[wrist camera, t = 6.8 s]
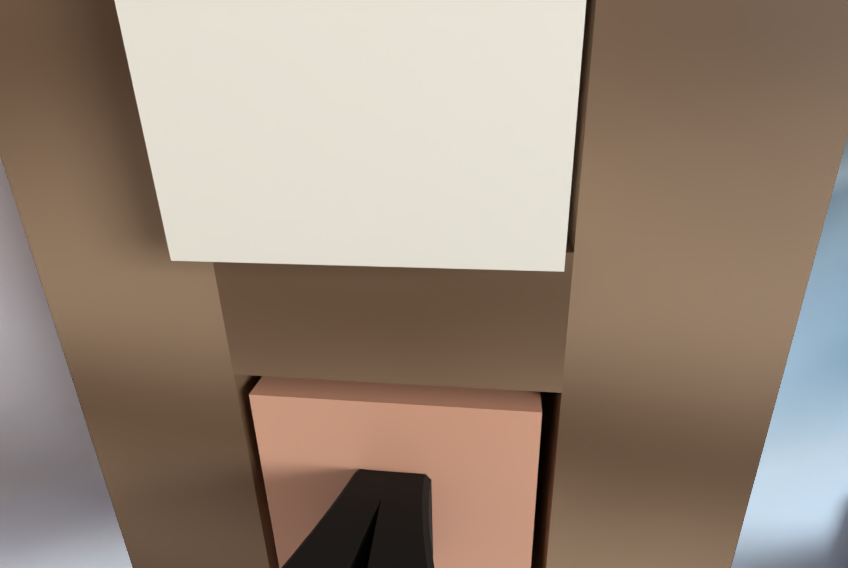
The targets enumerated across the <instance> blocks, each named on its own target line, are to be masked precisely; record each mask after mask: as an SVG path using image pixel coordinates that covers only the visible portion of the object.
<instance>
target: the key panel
mask: <svg viewBox="0 0 848 568" xmlns="http://www.w3.org/2000/svg"><path fill="white" fill-rule="evenodd" d="M847 136H848V0H586V11H585V23H584V36H583V48H582V60H581V72H580V84H579V97H578V109H577V121H576V133H575V146H574V158H573V170H572V182H571V194H570V207H569V219H568V231H567V243H566V256H565V268H564V272H557V271H521V270H486V269H450V268H414V267H378V266H342V265H306V264H270V263H235V262H199V261H171V258H170V254H169V249H168V245H167V240H166V235H165V231H164V226H163V222H162V217H161V212H160V208H159V203H158V199H157V194H156V189H155V185H154V180H153V176H152V171H151V166H150V162H149V157H148V153H147V148H146V143H145V139H144V134H143V130H142V125H141V120H140V116H139V111H138V107H137V102H136V97H135V93H134V88H133V84H132V79H131V74H130V70H129V65H128V60H127V56H126V51H125V47H124V42H123V37H122V33H121V28H120V24H119V19H118V14H117V10H116V5H115V1H114V0H0V155H1V158H2V162H3V165H4V168H5V171H6V174H7V177H8V180H9V183H10V186H11V190H12V193H13V196H14V199H15V202H16V205H17V208H18V211H19V215H20V218H21V221H22V224H23V227H24V230H25V233H26V236H27V239H28V243H29V246H30V249H31V252H32V255H33V258H34V261H35V264H36V267H37V271H38V274H39V277H40V280H41V283H42V286H43V289H44V292H45V295H46V299H47V302H48V305H49V308H50V311H51V314H52V317H53V320H54V324H55V327H56V330H57V333H58V336H59V339H60V342H61V345H62V348H63V352H64V355H65V358H66V361H67V364H68V367H69V370H70V373H71V376H72V380H73V383H74V386H75V389H76V392H77V395H78V398H79V401H80V405H81V408H82V411H83V414H84V417H85V420H86V423H87V426H88V429H89V433H90V436H91V439H92V442H93V445H94V448H95V451H96V454H97V457H98V461H99V464H100V467H101V470H102V473H103V476H104V479H105V482H106V486H107V489H108V492H109V495H110V498H111V501H112V504H113V507H114V510H115V514H116V517H117V520H118V523H119V526H120V529H121V532H122V535H123V538H124V542H125V545H126V548H127V551H128V554H129V557H130V560H131V563H132V567H133V568H279V563H278V557H277V552H276V546H275V540H274V535H273V529H272V523H271V518H270V512H269V506H268V501H267V495H266V489H265V483H264V478H263V472H262V466H261V461H260V455H259V449H258V444H257V438H256V432H255V427H254V421H253V415H252V410H251V404H250V398H249V394H250V392H251V391H252V390H253V388H254V387H255V386H256V384H257V383H258V381H259V380H260V379H261V377H262V376H272V377H290V378H308V379H325V380H343V381H361V382H379V383H397V384H414V385H432V386H450V387H468V388H485V389H503V390H521V391H539V392H540V396H541V406H542V421H541V435H540V449H539V463H538V476H537V490H536V504H535V518H534V531H533V545H532V559H531V568H731V565H732V561H733V558H734V554H735V550H736V547H737V543H738V539H739V535H740V532H741V528H742V524H743V521H744V517H745V513H746V510H747V506H748V502H749V499H750V495H751V491H752V487H753V484H754V480H755V476H756V473H757V469H758V465H759V462H760V458H761V454H762V450H763V447H764V443H765V439H766V436H767V432H768V428H769V425H770V421H771V417H772V414H773V410H774V406H775V402H776V399H777V395H778V391H779V388H780V384H781V380H782V377H783V373H784V369H785V366H786V362H787V358H788V354H789V351H790V347H791V343H792V340H793V336H794V332H795V329H796V325H797V321H798V317H799V314H800V310H801V306H802V303H803V299H804V295H805V292H806V288H807V284H808V281H809V277H810V273H811V269H812V266H813V262H814V258H815V255H816V251H817V247H818V244H819V240H820V236H821V232H822V229H823V225H824V221H825V218H826V214H827V210H828V207H829V203H830V199H831V196H832V192H833V188H834V184H835V181H836V177H837V173H838V170H839V166H840V162H841V159H842V155H843V151H844V148H845V144H846V140H847Z"/></svg>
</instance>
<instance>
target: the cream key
mask: <svg viewBox="0 0 848 568" xmlns="http://www.w3.org/2000/svg"><path fill="white" fill-rule="evenodd" d="M114 1H115V5H116V10H117V14H118V19H119V24H120V28H121V33H122V37H123V42H124V47H125V51H126V56H127V60H128V65H129V70H130V74H131V79H132V84H133V88H134V93H135V97H136V102H137V107H138V111H139V116H140V120H141V125H142V130H143V134H144V139H145V143H146V148H147V153H148V157H149V162H150V166H151V171H152V176H153V180H154V185H155V189H156V194H157V199H158V203H159V208H160V212H161V217H162V222H163V226H164V231H165V235H166V240H167V245H168V249H169V254H170V258H171V261H199V262H235V263H270V264H306V265H342V266H378V267H414V268H450V269H486V270H521V271H557V272H564V268H565V256H566V243H567V231H568V219H569V207H570V194H571V182H572V170H573V158H574V146H575V133H576V121H577V109H578V97H579V84H580V72H581V60H582V48H583V36H584V23H585V11H586V0H114Z"/></svg>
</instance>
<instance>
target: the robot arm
mask: <svg viewBox="0 0 848 568" xmlns="http://www.w3.org/2000/svg"><path fill="white" fill-rule="evenodd" d="M281 568H434V561H433V526H432V484H431V479H430V478H429V477H428V476H427V475H426V474H419V473H405V472H392V471H379V470H366V469H359V470H358V471H357V472H355V473H354V475H353V476H352V477H351V479H350V480H349V482H348V483H347V485H346V486H345V487H344V489H343V490H342V492H341V493H340V494H339V496H338V497H337V499H336V500H335V501H334V503H333V504H332V505H331V507H330V508H329V509H328V511H327V512H326V513H325V515H324V516H323V517H322V518H321V520H320V521H319V522H318V524H317V525H316V526H315V527H314V529H313V530H312V531H311V532H310V534H309V535H308V536H307V537H306V538H305V540H304V541H303V542H302V543H301V545H300V546H299V547H298V548H297V550H296V551H295V552H294V553H293V554H292V556H291V557H290V558H289V559H288V560H287V562H286V563H285V564H284V565H283V566H282V567H281Z"/></svg>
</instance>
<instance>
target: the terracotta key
mask: <svg viewBox="0 0 848 568" xmlns="http://www.w3.org/2000/svg"><path fill="white" fill-rule="evenodd" d="M249 398H250V404H251V410H252V415H253V421H254V427H255V432H256V438H257V444H258V449H259V455H260V461H261V466H262V472H263V478H264V483H265V489H266V495H267V501H268V506H269V512H270V518H271V523H272V529H273V535H274V540H275V546H276V552H277V557H278V563H279V568H281V567H282V566H283V565H284V564H285V563H286V562H287V560H288V559H289V558H290V557H291V556H292V554H293V553H294V552H295V551H296V550H297V548H298V547H299V546H300V545H301V543H302V542H303V541H304V540H305V538H306V537H307V536H308V535H309V534H310V532H311V531H312V530H313V529H314V527H315V526H316V525H317V524H318V522H319V521H320V520H321V518H322V517H323V516H324V515H325V513H326V512H327V511H328V509H329V508H330V507H331V505H332V504H333V503H334V501H335V500H336V499H337V497H338V496H339V494H340V493H341V492H342V490H343V489H344V487H345V486H346V485H347V483H348V482H349V480H350V479H351V477H352V476H353V475H354V473H355V472H357V471H358V470H359V469H366V470H379V471H392V472H405V473H419V474H426V475H427V476H428V477H429V478H430V479H431V484H432V526H433V561H434V568H531V559H532V545H533V531H534V518H535V504H536V490H537V476H538V463H539V449H540V435H541V421H542V406H541V396H540V392H539V391H521V390H503V389H485V388H468V387H450V386H432V385H414V384H397V383H379V382H361V381H343V380H325V379H308V378H290V377H272V376H262V377H261V379H260V380H259V381H258V383H257V384H256V386H255V387H254V388H253V390H252V391H251V392H250V394H249Z"/></svg>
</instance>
